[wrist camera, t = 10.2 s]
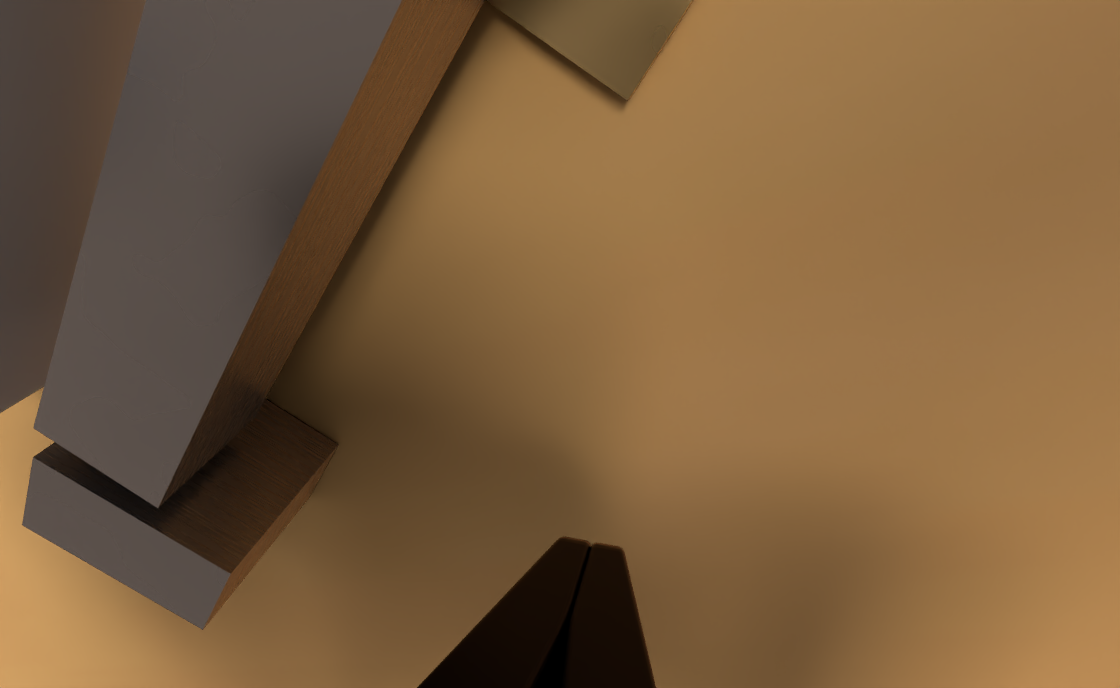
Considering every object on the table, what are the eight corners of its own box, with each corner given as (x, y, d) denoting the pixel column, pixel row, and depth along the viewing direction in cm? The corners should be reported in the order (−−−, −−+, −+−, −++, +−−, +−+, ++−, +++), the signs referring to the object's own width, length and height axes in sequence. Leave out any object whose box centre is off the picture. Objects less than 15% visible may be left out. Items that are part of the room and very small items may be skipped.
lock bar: (513, -885, 5) (340, -1557, 3) (889, -499, 6) (993, -814, 3) (120, 315, 12) (-20, 394, 10) (301, 438, 13) (206, 539, 11)
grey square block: (187, 350, 14) (32, 457, 11) (338, 444, 14) (230, 573, 11) (167, 412, 15) (22, 525, 12) (308, 498, 15) (203, 629, 12)
